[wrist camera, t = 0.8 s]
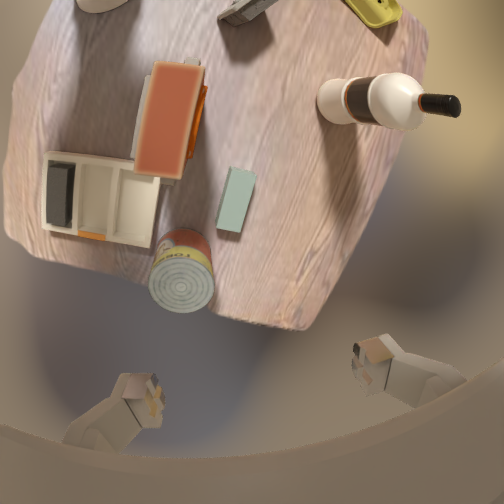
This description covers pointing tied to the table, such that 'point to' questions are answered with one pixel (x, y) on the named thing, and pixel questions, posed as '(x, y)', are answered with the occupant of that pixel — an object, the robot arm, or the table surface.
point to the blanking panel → (235, 199)
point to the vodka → (382, 102)
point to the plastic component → (376, 11)
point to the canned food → (182, 272)
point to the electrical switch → (244, 11)
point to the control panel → (168, 119)
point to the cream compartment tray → (106, 199)
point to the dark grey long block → (60, 193)
